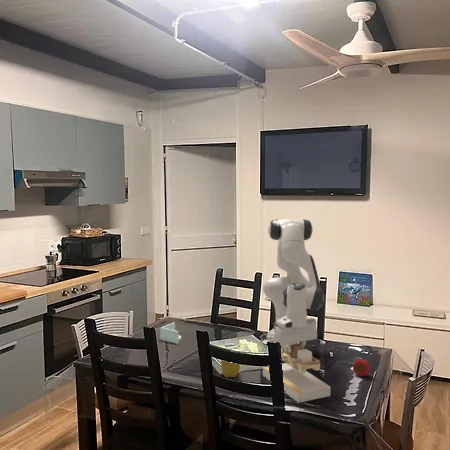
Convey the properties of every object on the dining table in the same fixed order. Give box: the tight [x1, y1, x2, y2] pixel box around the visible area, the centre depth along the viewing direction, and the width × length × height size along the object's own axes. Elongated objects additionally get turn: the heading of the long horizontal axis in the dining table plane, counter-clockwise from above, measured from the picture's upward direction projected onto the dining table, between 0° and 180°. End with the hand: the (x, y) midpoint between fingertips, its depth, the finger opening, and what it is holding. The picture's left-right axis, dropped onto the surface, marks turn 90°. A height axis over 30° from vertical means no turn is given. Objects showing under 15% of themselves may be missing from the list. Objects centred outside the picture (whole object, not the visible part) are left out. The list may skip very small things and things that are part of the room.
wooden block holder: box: [281, 343, 321, 373], centre depth 217 cm, size 24×9×8 cm, turn 24°
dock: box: [262, 362, 332, 404], centre depth 218 cm, size 30×16×4 cm, turn 24°
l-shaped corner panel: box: [159, 322, 182, 345], centre depth 278 cm, size 12×12×8 cm
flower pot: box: [220, 359, 241, 378], centre depth 228 cm, size 9×9×9 cm
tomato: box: [352, 358, 371, 378], centre depth 229 cm, size 8×8×8 cm
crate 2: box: [297, 348, 313, 363], centre depth 210 cm, size 4×4×4 cm
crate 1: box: [282, 344, 289, 354], centre depth 222 cm, size 4×4×4 cm
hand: (295, 351), depth 217 cm, fingers closed on wooden block holder, 4 cm apart
